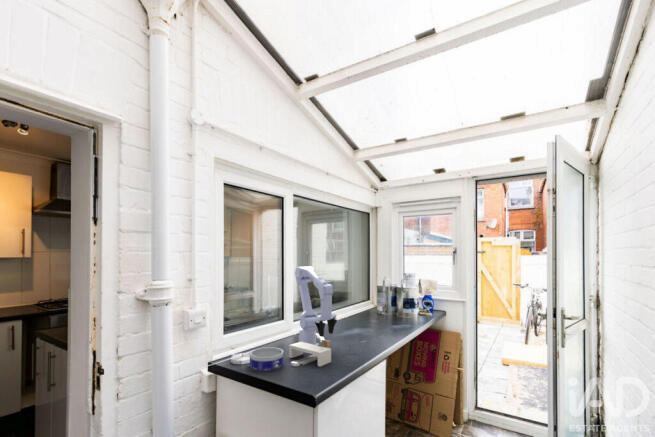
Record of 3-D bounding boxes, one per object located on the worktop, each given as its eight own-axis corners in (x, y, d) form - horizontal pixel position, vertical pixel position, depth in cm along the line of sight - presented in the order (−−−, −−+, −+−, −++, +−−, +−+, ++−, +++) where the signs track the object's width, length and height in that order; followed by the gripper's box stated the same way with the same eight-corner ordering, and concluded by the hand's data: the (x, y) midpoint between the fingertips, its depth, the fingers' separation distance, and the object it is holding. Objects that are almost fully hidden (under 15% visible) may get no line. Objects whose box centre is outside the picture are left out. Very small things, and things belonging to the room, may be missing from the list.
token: (288, 365, 148) (288, 362, 148) (295, 363, 151) (295, 359, 152) (295, 368, 145) (295, 364, 145) (302, 365, 148) (302, 362, 149)
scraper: (295, 362, 152) (295, 348, 152) (323, 352, 168) (323, 339, 168) (303, 365, 148) (303, 350, 149) (331, 354, 165) (331, 340, 165)
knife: (307, 329, 214) (318, 329, 216) (307, 332, 214) (318, 331, 215) (312, 340, 185) (325, 339, 186) (312, 343, 185) (325, 342, 186)
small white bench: (289, 357, 159) (289, 344, 159) (300, 353, 165) (300, 341, 166) (320, 366, 146) (320, 352, 147) (331, 362, 152) (331, 348, 153)
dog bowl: (268, 373, 138) (269, 359, 139) (242, 367, 145) (242, 353, 146) (289, 363, 151) (290, 349, 152) (264, 358, 159) (264, 345, 159)
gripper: (323, 310, 160) (323, 339, 158) (340, 306, 171) (340, 333, 169) (312, 309, 164) (312, 336, 163) (330, 305, 175) (330, 331, 174)
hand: (326, 334), depth 166 cm, fingers open, 7 cm apart
